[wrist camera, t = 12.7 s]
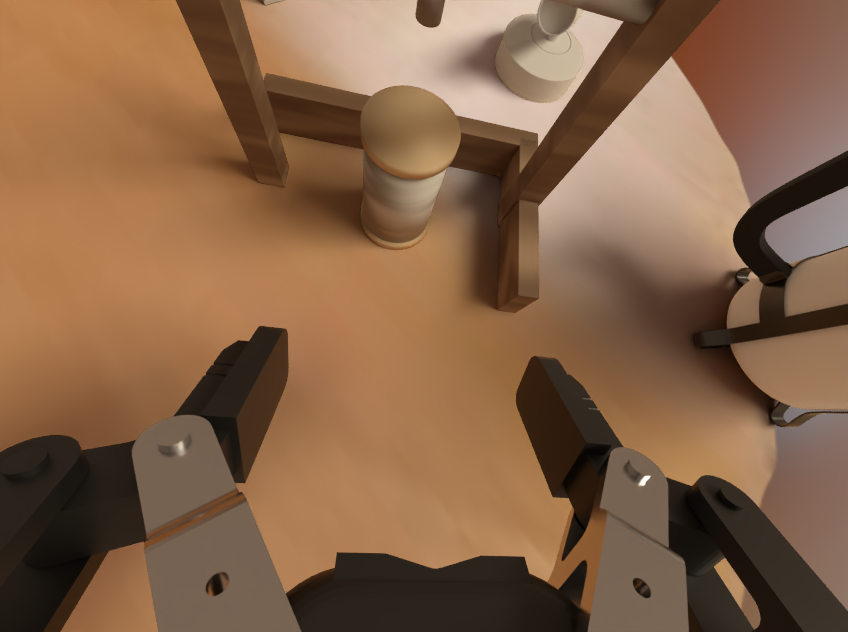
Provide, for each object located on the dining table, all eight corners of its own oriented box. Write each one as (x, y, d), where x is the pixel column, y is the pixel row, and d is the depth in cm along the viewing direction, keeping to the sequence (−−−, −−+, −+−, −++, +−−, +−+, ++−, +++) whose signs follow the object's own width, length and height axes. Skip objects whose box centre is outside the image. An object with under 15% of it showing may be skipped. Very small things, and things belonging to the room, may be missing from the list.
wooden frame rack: (517, 313, 29) (764, 164, 11) (235, 273, 25) (-45, -25, 8) (519, 165, 33) (702, -114, 15) (275, 115, 29) (149, -317, 12)
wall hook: (516, -36, 26) (564, -95, 29) (475, 80, 35) (515, 26, 38) (612, 26, 26) (650, -39, 29) (546, 125, 35) (581, 68, 38)
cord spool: (346, 206, 29) (340, 106, 19) (404, 178, 30) (423, 73, 21) (385, 261, 28) (398, 186, 18) (441, 230, 30) (479, 146, 20)
